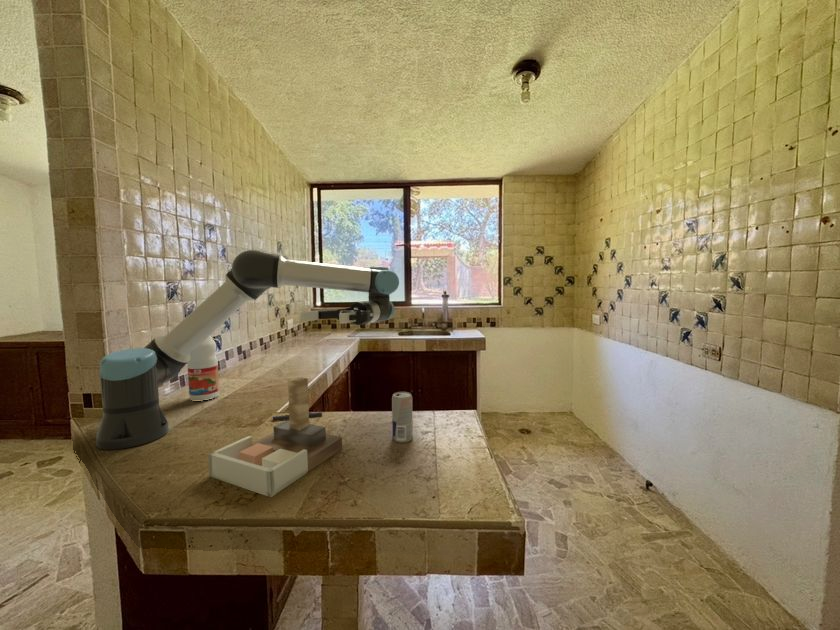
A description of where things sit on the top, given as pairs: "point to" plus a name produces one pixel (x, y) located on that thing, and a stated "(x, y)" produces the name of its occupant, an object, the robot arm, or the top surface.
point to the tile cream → (276, 458)
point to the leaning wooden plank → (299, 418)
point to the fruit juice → (203, 371)
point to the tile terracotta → (255, 453)
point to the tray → (255, 469)
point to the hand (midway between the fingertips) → (320, 317)
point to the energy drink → (402, 417)
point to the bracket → (288, 416)
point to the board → (307, 448)
